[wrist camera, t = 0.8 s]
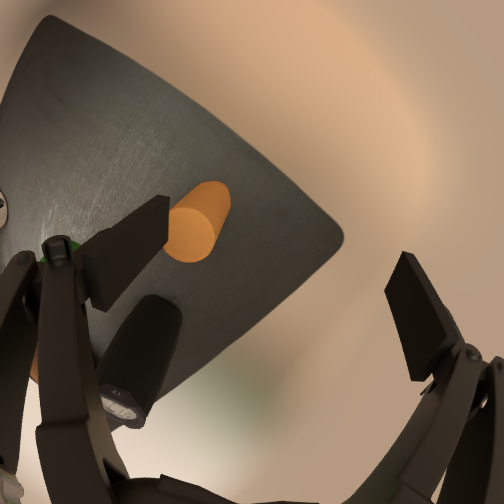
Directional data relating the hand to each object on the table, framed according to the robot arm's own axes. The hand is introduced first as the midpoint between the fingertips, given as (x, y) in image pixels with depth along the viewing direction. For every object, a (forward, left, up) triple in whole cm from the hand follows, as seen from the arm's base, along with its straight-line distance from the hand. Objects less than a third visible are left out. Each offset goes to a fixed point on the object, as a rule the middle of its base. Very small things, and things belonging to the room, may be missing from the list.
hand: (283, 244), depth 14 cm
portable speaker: (+20, -20, -20) cm, 34 cm away
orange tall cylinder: (+2, -7, -19) cm, 21 cm away
